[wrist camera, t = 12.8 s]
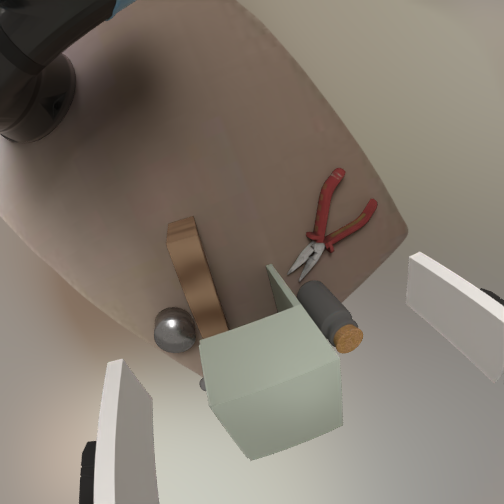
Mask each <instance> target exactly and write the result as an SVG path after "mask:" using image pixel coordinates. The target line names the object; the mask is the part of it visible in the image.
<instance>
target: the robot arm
mask: <svg viewBox="0 0 504 504" xmlns="http://www.w3.org/2000/svg"><path fill="white" fill-rule="evenodd" d="M135 1H136V0H0V134H1V135H2V136H3V137H4V138H6V139H7V140H9V141H12V142H17V143H24V142H32V141H36V140H39V139H41V138H43V137H44V136H46V135H47V134H49V133H50V132H51V131H52V130H54V129H55V128H56V127H57V125H58V124H59V123H60V122H61V121H62V119H63V118H64V116H65V115H66V113H67V111H68V109H69V107H70V105H71V102H72V99H73V96H74V91H75V72H74V68H73V65H72V63H71V62H70V60H69V59H68V58H67V57H66V56H65V55H64V54H62V52H63V51H65V50H66V49H67V48H68V47H70V46H71V45H72V44H73V43H75V42H76V41H77V40H79V39H80V38H81V37H82V36H84V35H85V34H87V33H88V32H89V31H91V30H92V29H94V28H95V27H96V26H98V25H99V24H101V23H102V22H104V21H108V20H110V19H112V18H113V17H114V16H115V15H116V13H118V12H119V11H121V10H122V9H124V8H125V7H127V6H129V5H130V4H132V3H133V2H135ZM406 304H407V305H408V306H409V307H410V308H411V309H413V310H414V311H415V312H416V313H417V314H418V315H420V316H421V317H422V318H423V319H424V320H426V321H427V322H428V323H429V324H430V325H431V326H432V327H434V328H435V329H436V330H437V331H438V332H439V333H440V334H441V335H443V336H444V337H445V338H446V339H447V340H448V341H449V342H450V343H451V344H453V345H454V346H455V347H456V348H457V349H458V350H459V351H460V352H461V353H463V354H464V355H465V356H466V357H467V358H468V359H469V360H470V361H471V362H472V363H473V364H474V365H475V366H476V367H477V368H478V369H480V370H481V371H482V372H483V373H484V374H485V375H486V376H487V377H488V378H489V379H490V380H491V381H492V382H493V383H495V382H496V381H497V380H498V379H499V378H500V377H501V376H502V375H503V374H504V300H503V299H500V297H499V296H497V295H496V294H494V293H493V292H491V291H488V290H485V289H482V288H481V289H478V288H477V287H475V286H474V285H472V284H471V283H469V282H468V281H466V280H464V279H463V278H462V277H460V276H459V275H457V274H455V273H454V272H452V271H451V270H449V269H448V268H446V267H444V266H443V265H441V264H439V263H438V262H436V261H434V260H433V259H431V258H430V257H428V256H426V255H425V254H423V253H421V252H418V253H416V254H414V255H412V256H410V257H409V265H408V281H407V294H406ZM152 411H153V409H152V397H151V396H150V395H149V393H148V392H147V391H146V389H145V388H144V387H143V386H142V384H141V383H140V382H139V380H138V379H137V378H136V376H135V375H134V373H133V372H132V371H131V370H130V368H129V366H128V365H127V364H126V362H125V361H124V359H119V360H115V361H111V362H108V363H107V369H106V374H105V380H104V386H103V392H102V400H101V406H100V415H99V422H98V431H97V441H91V442H87V444H86V447H85V449H84V451H83V453H82V462H81V466H82V468H81V474H80V475H81V477H80V495H79V504H159V498H158V489H157V479H156V470H155V469H156V468H155V454H154V438H153V412H152Z"/></svg>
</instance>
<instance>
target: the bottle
mask: <svg viewBox="0 0 504 504" xmlns="http://www.w3.org/2000/svg"><path fill="white" fill-rule="evenodd" d="M297 299H298V301H299V302H300V304H301V305H302V306H303V308H304V309H305V310H306V312H307V313H308V315H309V316H310V317H311V319H312V320H313V321H314V323H315V324H316V326H317V327H318V328H319V330H320V331H321V332H322V334H323V335H324V337H325V338H326V339H328V340H329V342H330V343H331V344H332V345H333V346H334V347H336V349H337V351H338V352H340V353H348V352H351V351H353V350H354V349H355V348H356V347H358V345H359V344H360V343H361V341H362V339H363V332H362V331H361V330H360V329H358V325H357V323H356V322H355V321H353V319H352V316H351V314H350V312H349V311H348V310H347V309H346V308H345V307H344V306H343V305H342V303H341V302H340V301H339V300H338V299H337V298H336V297H335V296H334V295H333V294H332V293H331V292H330V291H329V290H328V289H327V288H326V287H325V286H324V285H323V284H322V283H321V282H319V281H315V280H314V281H309V282H307V283H305V284H304V285H303V286H302V287H301V288H300V289H299V291H298V294H297Z"/></svg>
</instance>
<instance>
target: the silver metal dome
mask: <svg viewBox="0 0 504 504" xmlns="http://www.w3.org/2000/svg"><path fill="white" fill-rule="evenodd" d="M195 338H196V336H195V328H194V321H193V318H192V316H191V315H190V314H189V313H188V312H187V311H185V310H183V309H181V308H175V307H172V308H167V309H164V310H162V311H161V312H160V313H159V314H158V315H157V317H156V319H155V329H154V339H155V342H156V344H157V345H158V346H159V347H160V348H161V349H163V350H165V351H167V352H171V353H180V352H184V351H186V350H188V349H189V348H191V347H192V345H193V344H194V342H195Z"/></svg>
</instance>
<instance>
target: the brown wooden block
mask: <svg viewBox="0 0 504 504" xmlns="http://www.w3.org/2000/svg"><path fill="white" fill-rule="evenodd" d="M166 245H167V248H168V251H169V254H170V256H171V259H172V262H173V265H174V267H175V270H176V273H177V275H178V278H179V281H180V283H181V286H182V289H183V291H184V294H185V296H186V299H187V302H188V304H189V307H190V309H191V312H192V314H193V316H194V319H195V321H196V324H197V326H198V329H199V331H200V333H201V336H202V338H203V339H205V338H208V337H211V336H214V335H217V334H220V333H223V332H226V331H229V327H228V324H227V321H226V318H225V315H224V312H223V309H222V306H221V303H220V300H219V297H218V294H217V291H216V288H215V285H214V282H213V278H212V275H211V272H210V269H209V266H208V263H207V259H206V256H205V253H204V250H203V247H202V243H201V240H200V237H199V233H198V230H197V227H196V223H195V220H194V216H192V217H189V218H185V219H182V220H179V221H176V222H172V223H169V224H168V231H167V242H166Z"/></svg>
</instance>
